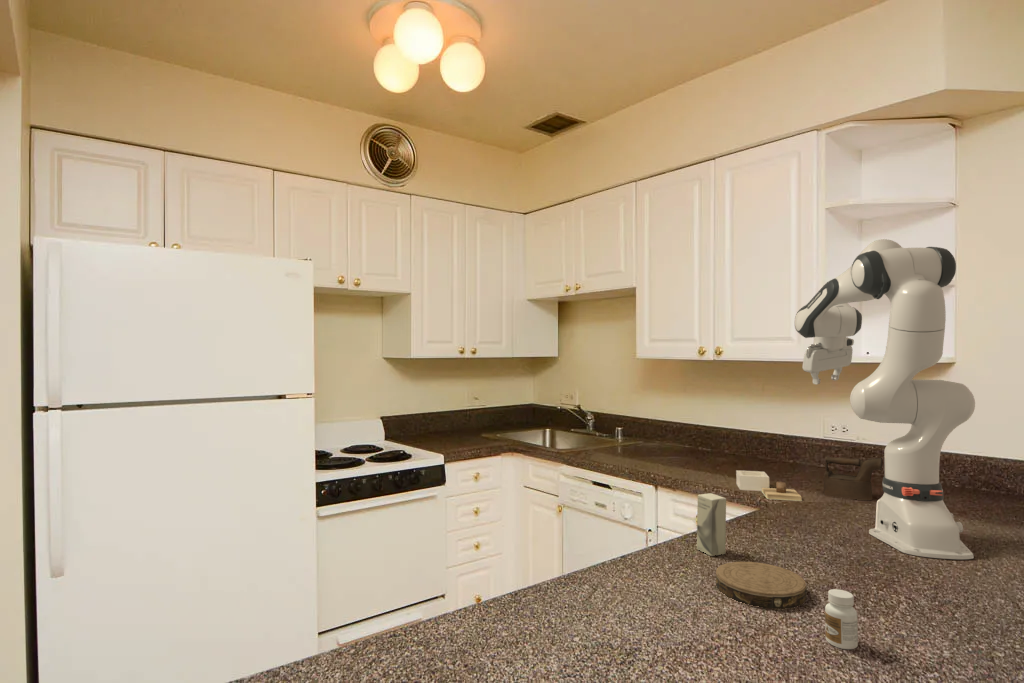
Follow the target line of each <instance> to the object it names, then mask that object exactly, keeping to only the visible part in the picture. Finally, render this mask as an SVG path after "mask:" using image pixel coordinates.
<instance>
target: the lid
mask: <svg viewBox="0 0 1024 683" xmlns="http://www.w3.org/2000/svg"><path fill="white" fill-rule="evenodd" d="M775 485H776V488H775V487H774V488H773V487H771V488H770V487H769V488H762V491H761V493H762V492H763V493H764V494H765V495H764V494H763V493H762V494H763V495H764V497H765V496H766V497H767V498H768V499H767V498H766V497H765V498H766V499H767V500H777V499H782V500H781V501H794V500H800V501H799V502H802V501H803V496H801V494H799V493H798V492H797V490H795V488H794V489H791V488H787V482H785V481H776V483H775Z"/></svg>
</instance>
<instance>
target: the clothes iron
mask: <svg viewBox="0 0 1024 683" xmlns="http://www.w3.org/2000/svg"><path fill="white" fill-rule="evenodd" d="M824 460H825V461H824V462H825V463H824V464H825V465H824V466H825V467H824V474H823V495H824V496H827V497H828V496H829V497H834V498H835V497H836V498H842V499H843V498H844V499H850V500H851V499H857V500H856V501H872V500H873V489H872V488H873V487H872V481H871V480H872V475H873V472H874V471H877V470H878V471H882V469H883V465H884V464H883V458H882V457H875V458H873V457H872V458H868V459H865V460H862V459H860V458H849V457H841V456H839V457H833V456H828V455H827V456H824ZM829 464H835V465H840V466H855V467H859V469H858V471H857V475H856V476H855V475H852V474H851V475H849V474H844V473H835V472H833V471H832V470H830V469H829Z"/></svg>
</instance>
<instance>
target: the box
mask: <svg viewBox="0 0 1024 683" xmlns="http://www.w3.org/2000/svg"><path fill="white" fill-rule="evenodd" d="M696 505H697V506H696V507H697V508H696V509H697V512H696V514H697V515H696V516H697V518H696V525H697V526H696V531H697V532H696V550H698V551H699V550H700V551H699V552H702V553H703V552H704V553H703V554H705V553H706V555H708V556H711V557H715V555H716V556H722V555H725V554H726V545H727V544H726V540H727V539H726V536H727V534H726V533H727V524H726V523H727V498H726V497H723V496H720V495H717V494H715V493H712V492H711V493H702V494H698V495H697V504H696ZM721 554H722V555H721Z"/></svg>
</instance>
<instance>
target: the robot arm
mask: <svg viewBox="0 0 1024 683" xmlns="http://www.w3.org/2000/svg"><path fill="white" fill-rule="evenodd" d="M956 261H957V260H956V259H955V257H954V255H953V254H952V253H951V251H950V250H948V249H946V248H943V247H937V246H927V247H903V246H901V245H900V244H899V243H898V242H896V241H895V240H891V239H887V238H886V239H885V238H884V239H881V238H880V239H877V240H874V241H871V243H869V244H868V245H867V246H865V247H864V249H863V250H862V251H861V252H860V253H859V254H858V255H857V256H856V257H855V259H854V260H853V262H852V263H851V266H850V267H849V268H847V269H846V270H845V271H844V272H842V273H841V274H839V275H838V276H836V277H835V278H832V279H830V280H829V281H827V282H826V283H825V284H824V285H823V286H822V287H821V288H820V289H819V290H818V292H816V293H815V295H814V296H813V297H812V298H811V299H810V300H809V301H808V303H806V304H805V305H803V306H802V307H801V308H800V309H799V310H798V311H796V314H795V317H794V329H795V331H796V332H797V333H798V334H799V335H800V336H802V337H803V338H805V339H809V338H813V344H809V346H807V348H806V350H805V352H804V355H803V360H802V370H803V371H804V372H807V373H810V376H811V378H812V384H813V385H819V384H821V378H820V377H819V375H820V372H825V371H829V370H830V371H831V370H833V373H832V374H831V375H830V377H831V381H838V380H839V379H840V374H841V373H842V371H843V368H844V367H849V366H850V365H851V363H852V361H853V352H854V351H853V347H852V346H853V345H855V344H854V343H855V341H854V339H853V338H850V337H853V336H855V335H856V334H857V333H859V332H860V331H861V329H862V323H863V317H862V316H863V315H862V313H861V312H860V311H859V310H858V309H857V308H856V307H854V306H853V307H852V306H851V305H850V304H849V303H859V302H867V301H872V300H880V299H881V298H882V297H883V296H884V295H885V296H886V297H887V298H888V300H889V302H890V312H889V318H888V319H889V321H888V330H887V339H886V340H887V341H886V346H885V352H884V354H883V355H884V356H883V358H882V360H881V362H880V363H879V365H878V367H876V369H875V370H874V371H873V372H872V373H871V374H870V375H869V376H867V377H866V378H864V379H862V380H860V381H859V382H858V383H856V384H855V385H854V386H853V388H852V390H851V392H850V396H849V403H850V407H851V409H852V411H853V413H854V414H855V415H856V416H857V417H858V418H860V420H861V419H862V420H866V421H869V422H875V423H880V424H881V423H882V424H905V425H906V424H910V425H911V427H910V429H909V431H908V432H907V433H906V434H905V435H903V436H901V437H898V438H895V439H893V440H891V441H890V442H888V443H887V445H886V446H885V448H884V451H883V452H884V454H883V456H884V476H883V477H882V482H881V483H882V484H881V485H882V491H883V495H882V496H881V497H880V498H879V499H878V500H877V501H876V509H875V510H876V511H875V524H874V525H875V527H874V528H870V529H869V530H868V533H869V535H871V536H872V537H874V538H875V539H878V540H880V541H882V542H884V543H885V544H887V545H889V546H891V547H893V548H894V549H896V550H897V551H899V552H901V553H903V554H907V555H912V556H917V557H925V558H933V559H944V560H972V559H974V553H973V552H972V551H971V550H970V549H969V548H968V547H967V545H966V544H965V543H963V541H962V540H961V538H960V537H961V536H960V533H963V531H964V527H963V525H964V524H963V523H962V522H961V521H955V519H954V514H953V512H950V510H949V509H948V507H947V506H946V503H945V502H944V500H945V498H944V497H945V496H944V489H943V486H942V483H941V482H940V460H941V452H942V448H943V445H944V443H945V441H946V440H947V438H948V437H949V436H950V434H951V433H952V432H953V431H954V430H955V429H956V428H958V427H959V426H960V425H962V424H964V423H965V422H967V421H968V420H969V419H971V417H972V416H973V414H974V412H975V409H976V401H975V396H974V394H973V392H972V391H971V390H970V389H969V387H968V386H966V385H965V384H964V383H960V382H955V381H950V380H944V379H914V377H916V375H918V373H921V372H922V371H924V370H926V369H930V368H931V367H933V366H935V365H936V364H937V363H938V362H939V361H940V360H941V358H942V356H943V355H944V354H943V353H944V342H945V333H946V332H945V331H946V330H945V329H946V321H947V320H946V315H947V314H946V313H947V312H946V300H945V293H944V290H943V288H944V287H947V286H948V285H950V284H951V282H952V281H953V279H954V278H955V275H956V272H957V262H956Z"/></svg>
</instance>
